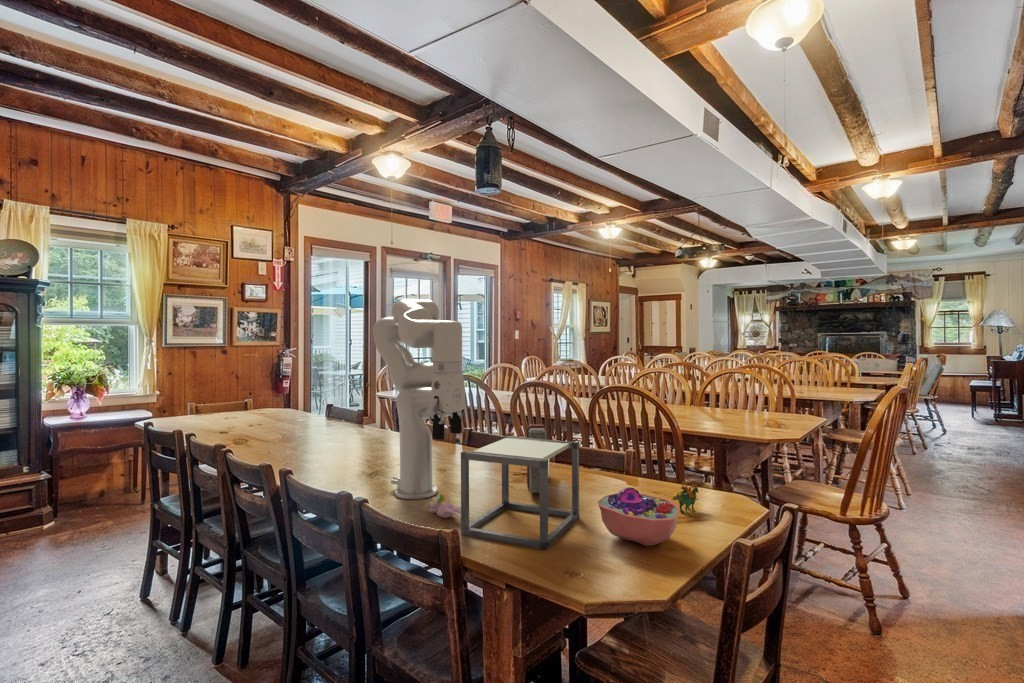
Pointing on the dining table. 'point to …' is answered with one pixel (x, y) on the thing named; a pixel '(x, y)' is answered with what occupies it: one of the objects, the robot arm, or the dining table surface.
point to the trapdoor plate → (524, 448)
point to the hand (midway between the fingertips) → (447, 435)
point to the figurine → (687, 497)
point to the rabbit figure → (443, 508)
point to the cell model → (639, 516)
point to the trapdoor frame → (543, 509)
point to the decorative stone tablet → (534, 472)
